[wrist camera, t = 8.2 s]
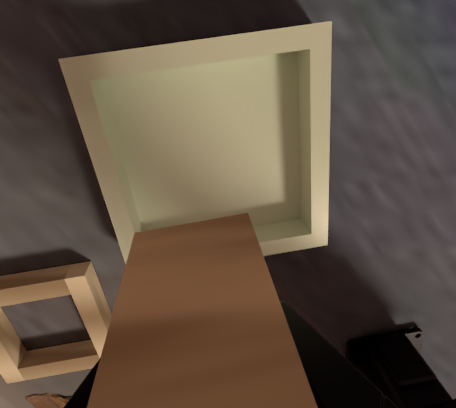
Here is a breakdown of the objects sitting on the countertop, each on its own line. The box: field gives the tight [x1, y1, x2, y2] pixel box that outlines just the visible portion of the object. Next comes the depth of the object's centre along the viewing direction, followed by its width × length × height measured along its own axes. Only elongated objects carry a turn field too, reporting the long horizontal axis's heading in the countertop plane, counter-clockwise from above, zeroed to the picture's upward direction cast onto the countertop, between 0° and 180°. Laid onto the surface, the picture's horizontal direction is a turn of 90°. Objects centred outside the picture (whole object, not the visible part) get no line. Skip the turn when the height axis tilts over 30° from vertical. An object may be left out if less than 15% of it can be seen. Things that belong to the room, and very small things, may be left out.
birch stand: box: [0, 261, 112, 384], centre depth 23 cm, size 8×8×2 cm
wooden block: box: [87, 213, 318, 408], centre depth 8 cm, size 4×4×8 cm
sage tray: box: [58, 21, 332, 264], centre depth 18 cm, size 12×12×2 cm
